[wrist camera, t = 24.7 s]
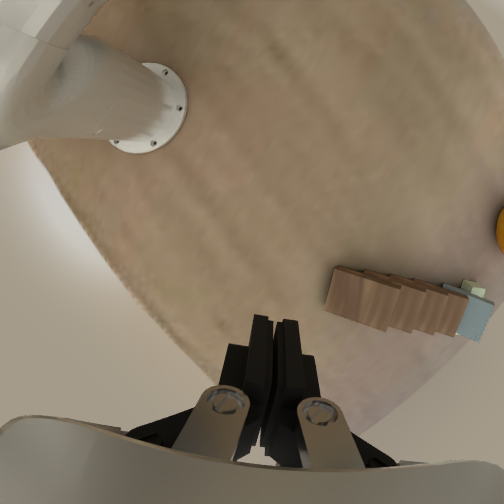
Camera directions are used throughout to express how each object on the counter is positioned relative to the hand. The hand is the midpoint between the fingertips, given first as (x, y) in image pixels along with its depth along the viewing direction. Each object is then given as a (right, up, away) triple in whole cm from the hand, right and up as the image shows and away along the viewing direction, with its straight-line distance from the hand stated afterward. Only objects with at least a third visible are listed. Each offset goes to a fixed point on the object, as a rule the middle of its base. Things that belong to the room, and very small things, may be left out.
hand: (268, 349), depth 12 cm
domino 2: (+14, -2, +29) cm, 32 cm away
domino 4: (+22, -3, +29) cm, 36 cm away
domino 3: (+18, -2, +29) cm, 34 cm away
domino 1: (+10, -1, +29) cm, 31 cm away
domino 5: (+27, -4, +29) cm, 40 cm away
